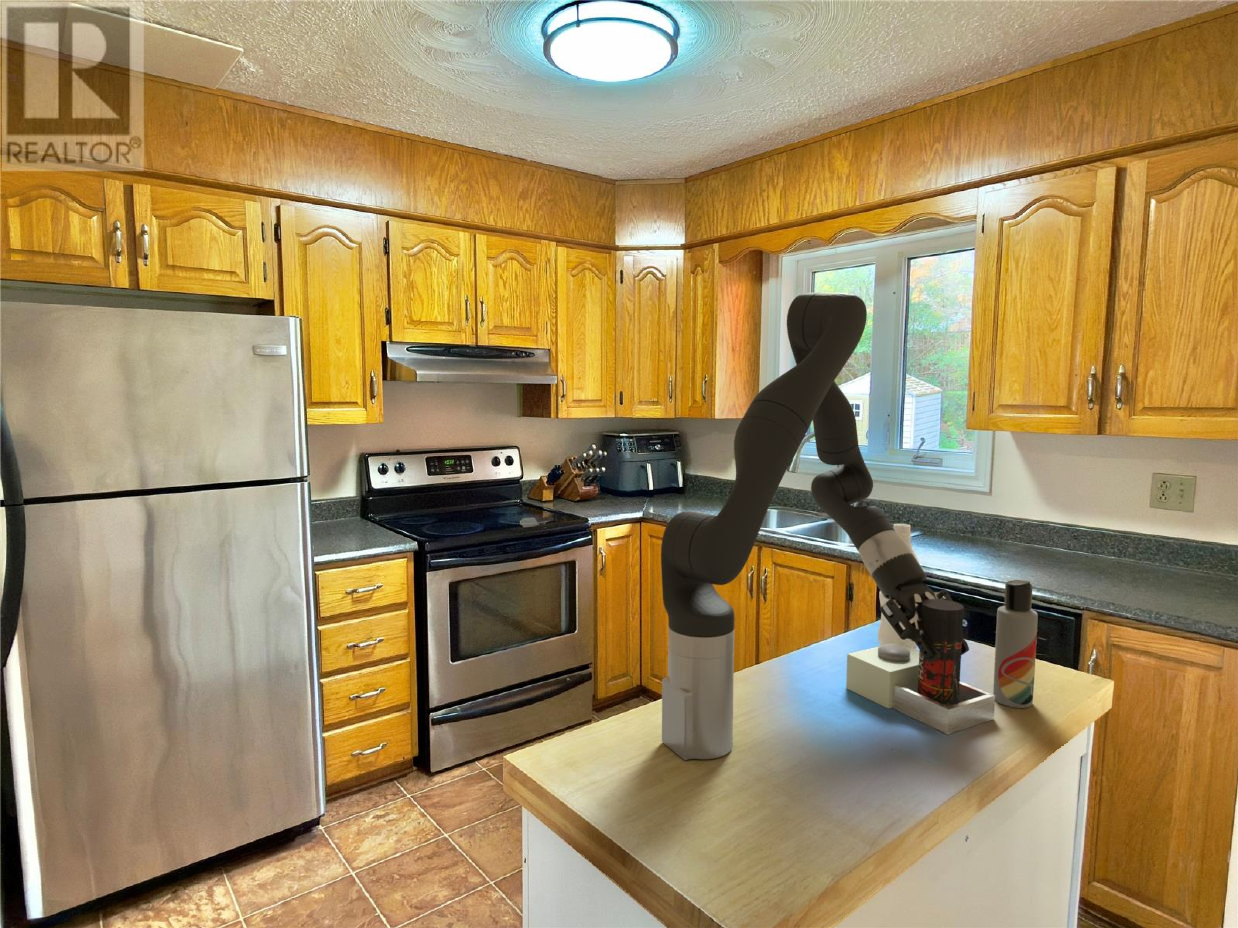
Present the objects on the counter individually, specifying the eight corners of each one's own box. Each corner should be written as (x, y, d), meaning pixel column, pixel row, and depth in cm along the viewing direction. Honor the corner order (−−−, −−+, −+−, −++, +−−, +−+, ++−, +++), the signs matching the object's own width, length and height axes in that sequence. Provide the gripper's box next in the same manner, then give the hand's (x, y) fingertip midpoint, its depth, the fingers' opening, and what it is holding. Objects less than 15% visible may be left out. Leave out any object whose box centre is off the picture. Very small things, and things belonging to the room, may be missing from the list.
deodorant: (909, 692, 114) (913, 600, 112) (939, 687, 116) (944, 597, 114) (935, 708, 108) (940, 612, 107) (967, 703, 110) (972, 608, 109)
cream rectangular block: (888, 708, 113) (890, 666, 113) (846, 688, 121) (847, 648, 121) (939, 693, 119) (941, 653, 118) (895, 675, 127) (897, 636, 126)
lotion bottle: (1029, 712, 112) (1037, 587, 110) (989, 702, 115) (996, 581, 114) (1035, 699, 117) (1042, 579, 115) (996, 691, 120) (1002, 574, 118)
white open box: (947, 734, 105) (948, 709, 104) (891, 707, 114) (892, 684, 113) (993, 719, 110) (995, 695, 109) (936, 694, 119) (937, 672, 118)
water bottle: (905, 662, 133) (910, 530, 130) (870, 652, 138) (874, 524, 136) (924, 653, 137) (929, 525, 135) (889, 643, 143) (894, 520, 140)
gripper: (873, 556, 113) (934, 653, 104) (934, 547, 120) (997, 637, 110) (847, 581, 118) (902, 675, 109) (907, 571, 125) (964, 659, 116)
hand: (949, 656), depth 110 cm, fingers closed on deodorant, 6 cm apart
